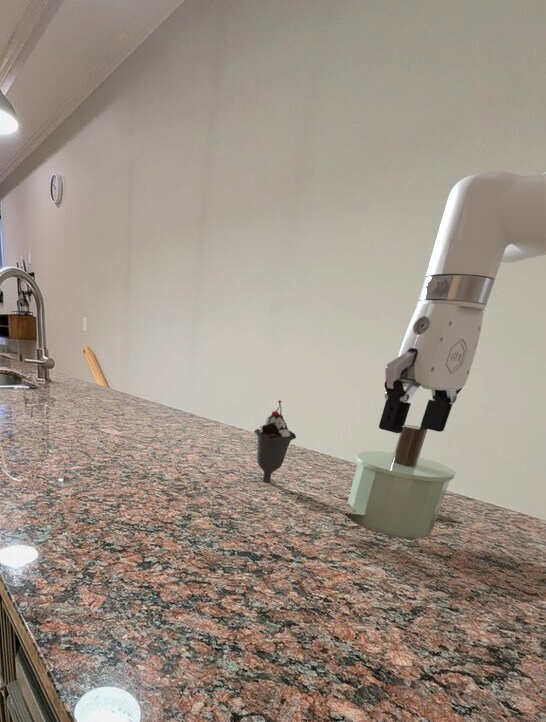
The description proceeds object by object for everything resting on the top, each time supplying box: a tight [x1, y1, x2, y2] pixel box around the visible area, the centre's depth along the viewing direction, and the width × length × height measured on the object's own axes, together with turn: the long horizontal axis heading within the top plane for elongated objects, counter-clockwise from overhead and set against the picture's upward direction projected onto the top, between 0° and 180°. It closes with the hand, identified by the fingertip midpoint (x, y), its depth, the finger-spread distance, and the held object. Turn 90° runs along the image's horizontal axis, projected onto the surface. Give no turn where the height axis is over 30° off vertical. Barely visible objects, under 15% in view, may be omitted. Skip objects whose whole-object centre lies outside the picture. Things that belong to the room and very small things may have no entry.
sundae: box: [253, 399, 297, 483], centre depth 73 cm, size 7×7×15 cm
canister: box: [345, 462, 451, 539], centre depth 66 cm, size 12×12×8 cm
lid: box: [354, 424, 456, 482], centre depth 64 cm, size 13×13×6 cm
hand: (411, 430), depth 63 cm, fingers open, 9 cm apart
